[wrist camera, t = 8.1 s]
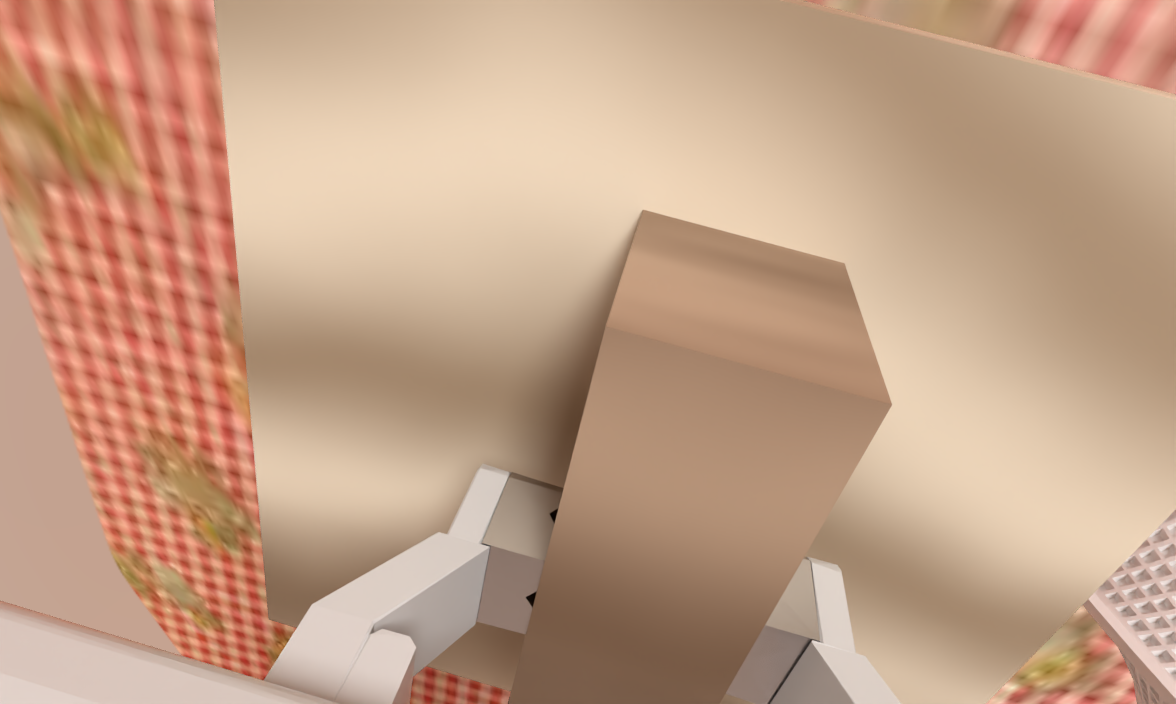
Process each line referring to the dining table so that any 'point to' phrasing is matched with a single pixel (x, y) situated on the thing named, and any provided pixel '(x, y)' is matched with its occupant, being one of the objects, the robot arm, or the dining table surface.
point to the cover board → (750, 125)
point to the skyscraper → (1144, 614)
